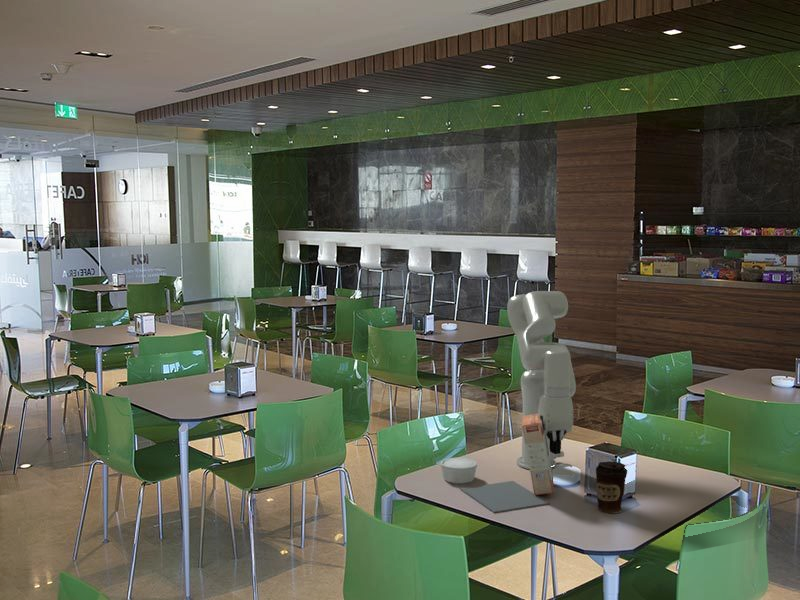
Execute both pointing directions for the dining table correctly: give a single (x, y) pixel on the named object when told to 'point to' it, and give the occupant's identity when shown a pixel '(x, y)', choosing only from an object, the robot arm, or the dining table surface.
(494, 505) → the rubber mat
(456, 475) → the ramekin
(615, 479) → the coffee cup
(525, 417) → the cracker box
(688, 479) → the dining table surface
